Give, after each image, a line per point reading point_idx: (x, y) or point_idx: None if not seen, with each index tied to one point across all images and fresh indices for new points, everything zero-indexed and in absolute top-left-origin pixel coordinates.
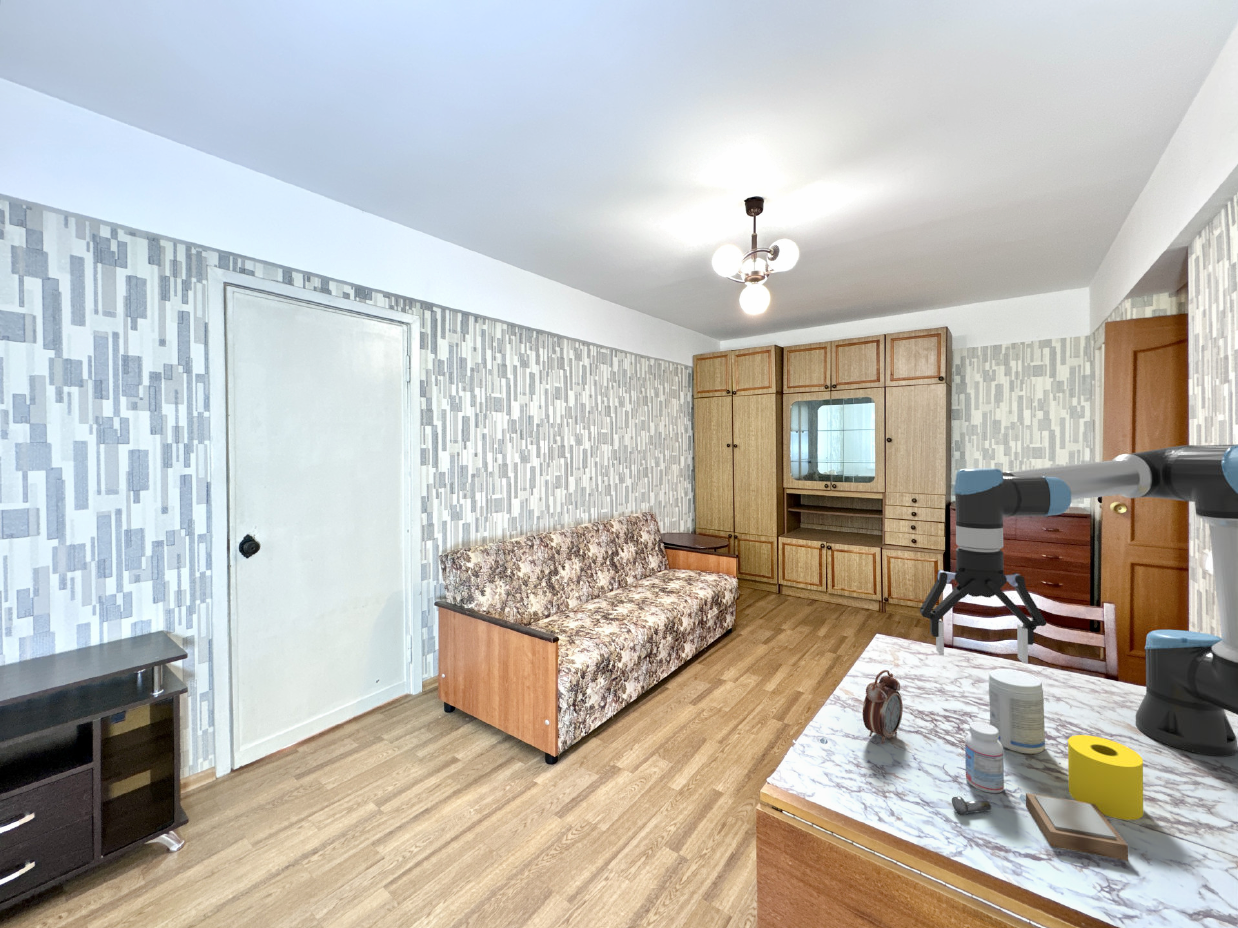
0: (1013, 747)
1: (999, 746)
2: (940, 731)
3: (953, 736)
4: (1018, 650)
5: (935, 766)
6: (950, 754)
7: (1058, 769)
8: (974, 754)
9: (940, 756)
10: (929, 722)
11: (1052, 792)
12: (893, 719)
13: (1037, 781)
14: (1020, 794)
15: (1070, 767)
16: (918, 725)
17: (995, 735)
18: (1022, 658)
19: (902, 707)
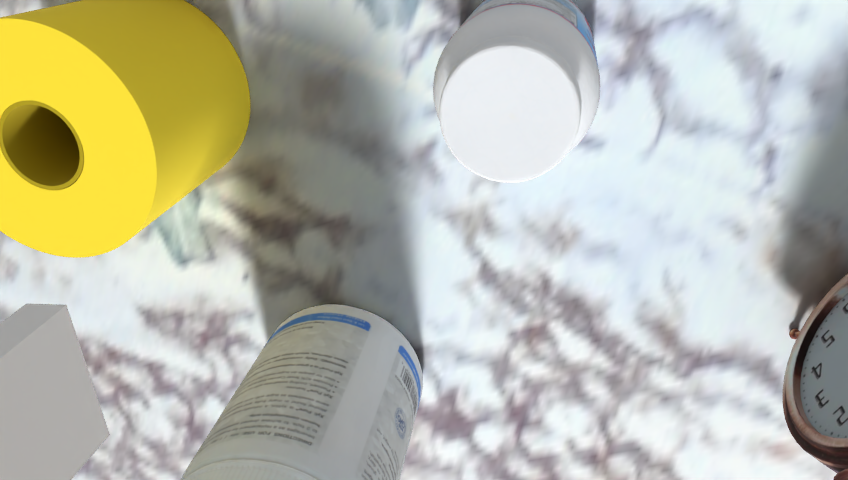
0: (366, 314)
1: (452, 54)
2: (597, 384)
3: (556, 360)
4: (46, 476)
5: (693, 120)
6: (603, 230)
7: (255, 237)
8: (575, 23)
9: (649, 204)
10: (622, 437)
11: (301, 80)
12: (844, 341)
13: (334, 137)
14: (410, 24)
15: (202, 115)
16: (674, 408)
17: (464, 57)
18: (42, 345)
19: (791, 414)
